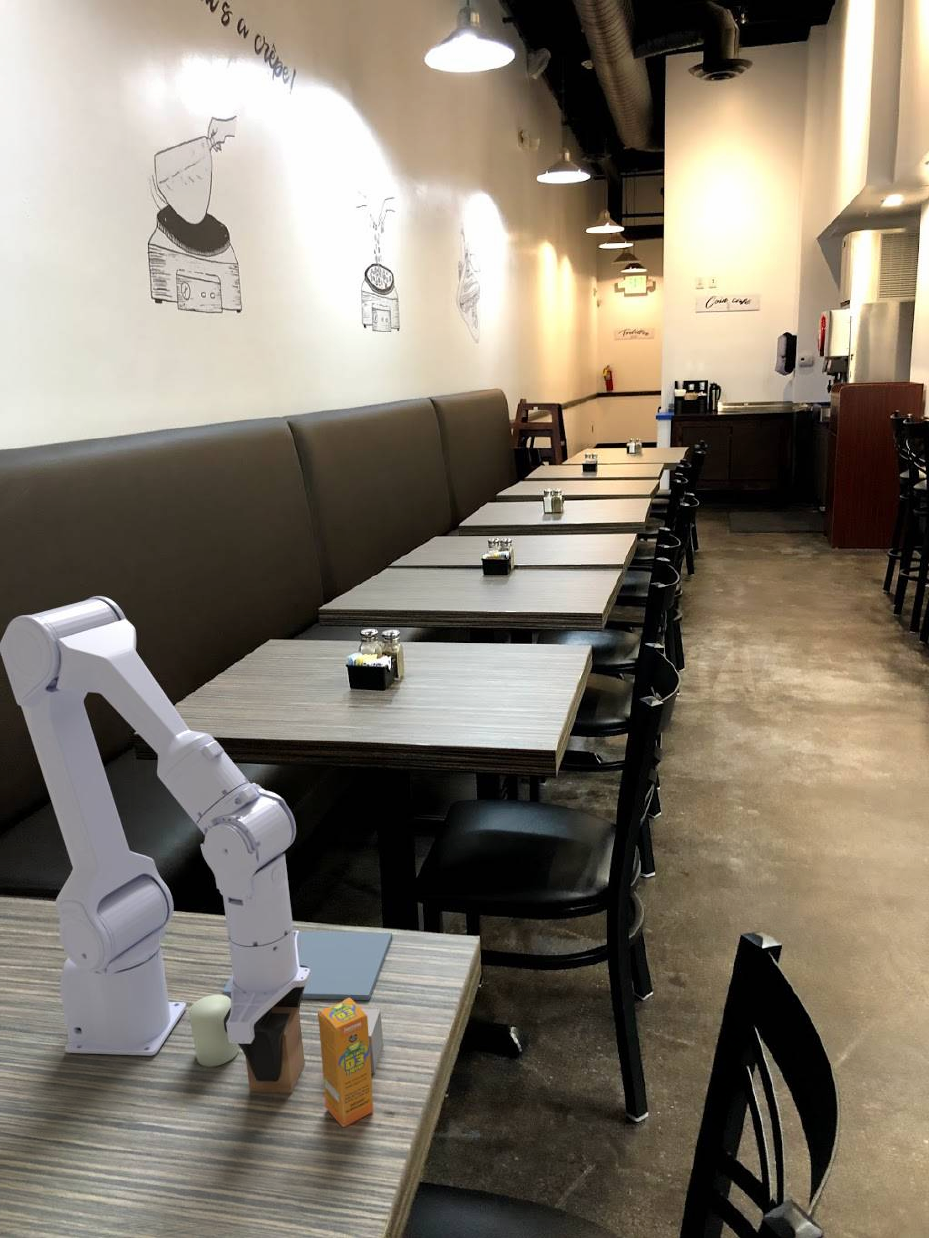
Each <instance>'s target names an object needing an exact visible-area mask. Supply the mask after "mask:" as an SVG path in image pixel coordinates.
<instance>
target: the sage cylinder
mask: <svg viewBox="0 0 929 1238" xmlns="http://www.w3.org/2000/svg"><path fill="white" fill-rule="evenodd" d="M230 1008H231V997H227V996H225V995H222V994H212V995H208V996H203V997H201V998H199V999H198V1000H196V1001H195V1002H194V1003H193V1004H191V1006H190V1007H189V1010H188V1017H189V1021H190V1027H191V1031H192V1033H191V1034H192V1039H193V1043H194V1049H195V1055H196V1061H197V1062H198V1063H199V1064H200V1065H202V1066H203V1067H217V1066H221V1065H224V1064H226V1063H228V1062H230V1061H231V1060H233V1059H234V1058H235V1057H236V1056H237V1055H238V1053H239V1051H240V1050H239V1049H240V1046H239V1045H238V1044H237V1043H229V1041H228V1033H226V1032H225V1028H224V1021H223V1020H224V1018H225V1016H226V1014H227V1012H228V1011H229V1009H230Z"/></svg>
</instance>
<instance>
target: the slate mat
mask: <svg viewBox="0 0 929 1238" xmlns="http://www.w3.org/2000/svg"><path fill="white" fill-rule="evenodd" d="M298 931H299V932H300V941H301V949H300V951H299V953H298V957H299V965H304V966H307V967H308V968H309V969H310V973H311V977H310V979H309V981H308V983H307V985H306V986H305V988H304V991H303V995H302V999H307V1000H310V999H313V1000H342V1001H344V1000H345V999H347V998H351V999H352V1000H353V1001H370V1000H371V997H372V994H373V992H374V989H375V986H376V984H377V980H378V979H379V975H380V972H381V969H382V966H383V964H384V961H385V959H386V956H387V954H388V951H389V948H390V945H391V943H392V939H393V933H392V932H369V931H368V932H367V931H365V932H364V931H362V932H359V931H309V930H308V931H301V930H298ZM232 975H233V973H232V974H231V976H230V978H229V979H228V981H227V983H226V984H225V986H224V988H223V989H222V991H221V995H225V996H227V997H229V998H231V979H232Z"/></svg>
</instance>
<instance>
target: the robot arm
mask: <svg viewBox="0 0 929 1238" xmlns="http://www.w3.org/2000/svg"><path fill="white" fill-rule="evenodd" d="M136 649H137V632H136V628H135V626H134V625H133V624H132V623H131V622H130V621H129V620H128V619H127V617H126V616H125V614H124V612H123V610H122V609H121V607H119V605H118V604H117V603H116V602H115V601H113V600H112V599H110V597H109V598H108V597H106V596H102V595H100V596H99V595H96V596H95V595H94V596H91V597H90V598H88V599H85V600H83V601H78V602H76V603H72V604H67V605H63V606H60V607H56V608H52V609H49V610H45V611H42V612H38V613H34V614H27V615H19V616H16V617H15V618H13V619H12V620H11V621H10V622H9V624H8V625H7V627H6V630H5V632H4V634H3V636H2V639H1V640H0V655H1V657H2V662H3V665H4V667H5V671H6V674H7V677H8V680H9V684H10V686H11V689H12V693H13V696H14V699H15V701H16V704H17V706H20V707H21V710H22V712H23V716H24V720H25V723H26V725H27V728H28V733H29V734H30V737H31V741H32V745H33V747H34V751H35V753H36V757H37V760H38V764H39V765H40V769H41V772H42V776H43V779H44V782H45V785H46V788H47V791H48V794H49V797H50V800H51V804H52V806H53V807H52V808H53V811H54V814H55V816H56V819H57V822H58V825H59V829H60V832H61V834H62V838H63V841H64V844H65V847H66V851H67V855H68V856H69V860H70V863H71V866H72V870H71V871H70V874H69V876H68V878H67V880H66V881H65V883H64V885H63V886H62V887H61V890H60V891H59V893H58V895H57V897H56V899H55V906H56V908H57V909H56V910H57V912H58V916H59V940H60V944H61V947H62V949H63V951H64V953H65V955H66V956H67V959H66V960H65V962H64V964H63V967H62V971H61V977H60V983H59V984H60V985H59V987H60V988H59V990H60V992H59V993H60V998H61V1005H62V1010H63V1016H64V1017H63V1018H64V1022H65V1028H66V1033H67V1038H68V1043H67V1044H66V1045H65V1047H64V1051H65V1053H71V1054H72V1053H73V1054H96V1055H98V1054H99V1055H126V1056H127V1055H128V1056H148V1057H149V1056H154V1055H156V1054H157V1053H158V1052H159V1050H160V1049H161V1048H162V1045H163V1044H164V1042H165V1041H166V1040H167V1038H168V1036H169V1034H170V1033H171V1032H172V1030H173V1028H174V1027H175V1026H176V1024H177V1022H178V1021H179V1019H180V1018H181V1017H182V1015H183V1014H184V1012H185V1010H186V1009H187V1003H186V1002H184V1001H169V995H168V994H169V992H168V987H167V981H166V974H165V966H164V965H165V964H164V959H163V958H164V957H163V953H162V945H161V942H162V940H163V939H164V938H165V937H166V931H165V930H166V929H165V926H166V925H168V924H169V922H170V921H171V920H172V918H173V914H174V900H173V896H172V894H171V891H170V889H169V887H168V886H167V884H166V883H165V881H164V880H163V879H162V878H161V876H160V874H159V872H158V870H157V867H156V863H155V860H154V859H153V858H152V857H149V856H147V855H144V854H140V853H137V852H134V851H132V850H130V848H129V844H128V841H127V839H126V834H125V831H124V829H123V826H122V822H121V818H120V816H119V813H118V809H117V806H116V803H115V800H114V796H113V793H112V790H111V786H110V783H109V781H108V778H107V773H106V771H105V767H104V764H103V762H102V758H101V755H100V751H99V748H98V745H97V741H96V739H95V735H94V732H93V730H92V727H91V723H90V720H89V717H88V713H87V710H86V707H85V703H84V701H85V698H86V696H87V694H88V693H95V694H99V695H102V696H103V698H104V699H105V700H106V701H107V702H108V703H109V704H110V705H111V706H112V707H113V708H114V709H115V710H116V711H117V713H119V714H120V716H121V717H122V718H123V719H124V720H125V722H126V723H128V724H129V725H130V726H131V728H132V729H133V730H135V732H136V733H137V734H138V735H139V736H140V737H141V738H142V739H143V740H144V741H145V742H146V743H147V744H148V745H149V747H150V748H151V749H153V750H154V752H155V753H156V755H157V770H156V775H157V777H158V779H159V780H160V781H161V782H162V783H163V785H165V787H166V788H167V790H168V791H169V792H170V794H171V795H172V796H173V797H174V799H176V801H177V802H178V804H179V805H180V807H182V808H183V809H184V811H185V812H186V813H187V814H188V816H189V817H190V818H191V820H192V821H193V822H194V824H196V826H197V827H198V828H199V830H200V831H201V832H202V834H203V835H204V841H203V843H200V849H201V853H202V857H203V858H204V860H205V862H206V863H207V866H208V867H209V868H210V869H211V871H212V873H213V875H214V878H215V883H216V884H215V885H216V889H217V890H219V894H221V896H222V898H223V899H222V900H223V906H224V913H225V914H224V915H225V921H226V922H225V923H226V928H227V929H226V930H227V939H228V946H229V947H228V948H229V953H230V961H231V962H230V963H231V970H232V974H233V975H232V974H231V976H232V979H231V997H230V999H231V1008H230V1009H229V1011H228V1012H227V1014H226V1016H225V1018H224V1020H223V1021H224V1028H225V1032H226V1033H228V1041H229V1043H237V1044H238V1045H239V1049H241V1051H242V1052H243V1054H244V1056H245V1059H246V1058H247V1060H248V1063H249V1065H250V1067H251V1069H252V1072H253V1074H254V1076H255V1078H256V1080H257V1081H272V1082H277V1081H278V1079H279V1077H280V1073H281V1067H282V1042H283V1035H284V1030H285V1027H286V1024H287V1021H288V1018H289V1016H290V1013H272V1009H271V1008H272V1007H299V1011H300V1009H301V1008H300V1007H301V1003H302V999H303V998H302V995H303V991H304V988H305V986H306V985H307V983H308V981H309V979H310V977H311V973H310V969H309V968H308V967H307V966H304V965H299V957H298V953H299V951H300V949H301V941H300V932H299V931H300V930H294V926H293V925H294V924H293V916H292V915H293V914H292V907H291V899H290V890H289V889H290V888H289V880H288V871H287V863H286V862H287V861H286V853H284V852H285V851H286V850H287V849H288V848H289V847H290V846H291V845H292V844H293V843H294V841H295V839H296V835H297V827H296V821H295V816H294V815H293V812H292V810H291V809H290V808H289V806H288V805H287V803H286V801H285V799H284V798H282V797H281V796H280V795H279V794H277V793H275V792H273V791H269V790H265V789H264V788H262V786H260V784H256V783H255V782H253V783H250V781H249V780H248V779H247V778H246V777H245V775H244V774H243V772H242V771H241V770H240V769H239V767H238V766H237V765H236V764H235V762H233V760H232V759H231V758H230V757H229V755H228V754H227V752H225V750H224V748H223V747H222V746H221V745H220V743H219V742H218V741H217V740H216V739H215V738H214V737H213V736H212V735H211V734H210V733H207V732H202V731H194V730H190V728H189V727H188V726H187V724H186V722H185V721H184V720H183V718H182V716H181V715H180V713H179V712H178V711H177V709H176V708H175V706H174V705H173V703H172V702H171V701H170V699H169V698H168V696H167V694H166V693H165V692H164V690H163V689H162V687H161V686H160V684H159V683H158V682H157V680H156V679H155V677H154V676H153V674H152V673H151V671H150V670H149V669H148V667H147V666H146V664H145V662H144V661H143V659H142V658H141V657H140V656H139V654H138V652H137V650H136Z"/></svg>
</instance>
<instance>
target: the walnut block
mask: <svg viewBox="0 0 929 1238" xmlns="http://www.w3.org/2000/svg"><path fill="white" fill-rule="evenodd" d="M271 1009H272V1013H290V1016H289V1018H288V1021H287V1024H286V1027H285V1030H284V1035H283V1042H282V1067H281V1073H280V1077H279V1079H278V1081H277V1082H272V1081H257V1080H256V1078H255V1076H254V1074H253V1072H252V1069H251V1067H250V1065H249V1063H248V1060H247V1058H246V1057H245V1064H246V1070H247V1077H248V1078H247V1079H248V1087H249V1091H250V1092H257V1093H258V1092H262V1093H263V1092H264V1093H267V1092H268V1093H287V1094H288V1093H289V1094H292V1093H293V1092H294V1089H295V1087H296V1085H297V1082H298V1081H299V1078H300V1075H301V1073H302V1071H303V1068H304V1066H305V1065H306V1064H305V1063H306V1062H305V1053H304V1044H303V1036H302V1026H301V1025H302V1024H301V1018H300V1017H301V1016H300V1010H299V1007H272V1008H271Z"/></svg>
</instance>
